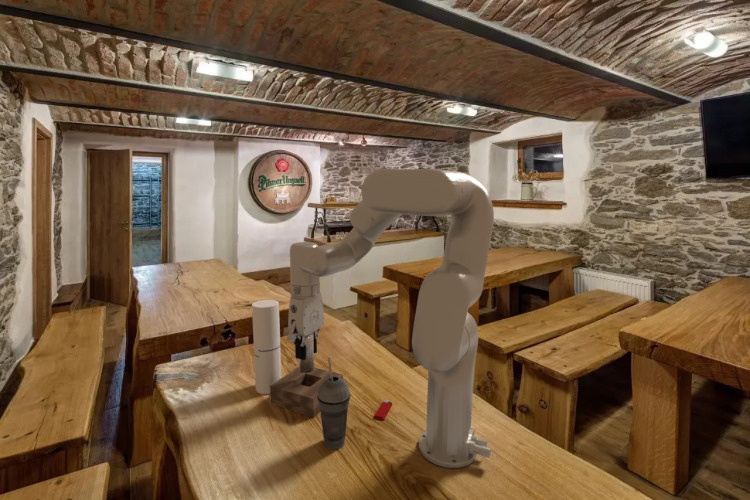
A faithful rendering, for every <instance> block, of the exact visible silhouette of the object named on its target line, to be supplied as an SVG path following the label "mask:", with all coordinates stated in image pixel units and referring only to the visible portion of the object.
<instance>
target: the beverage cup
mask: <svg viewBox="0 0 750 500" xmlns="http://www.w3.org/2000/svg"><path fill="white" fill-rule="evenodd" d="M327 361H328V371H329V372H330V377H329V378H327V379H325V380H324V381H323V382H322V384H321V385H320V388H319V390H318V395H317V398H318V401H319V406H320V410H321V412H320V417H321V427H322V436H323V442H324V443H323V444H324V446H325V448H327V449H328V450H334V451H335V450H339V449H341V448H343V447H344V445H345V443H346V442H345V440H346V435H347V433H346V432H347V423H348V422H347V421H348V420H347V419H348V413H349V412H348V409H349V403H350V398H351V391H350V387H349V385H348V383H347V382H346V381H345V379H344V378H343V379H342V378H340V377H336V376H332V372H333V371H332V368H333V367H332V361H331V357H327Z"/></svg>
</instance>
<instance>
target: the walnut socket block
mask: <svg viewBox="0 0 750 500" xmlns="http://www.w3.org/2000/svg"><path fill="white" fill-rule="evenodd" d="M332 376H336V377H340V378H342V379H343V380H344V374H341V373H337V372H334V371H332ZM329 377H330V372H329V370H326V369H323V368H318V367H315V366H314V370H313V371H312V372H310V373H301V372H300V371H299V366H298V367H296V368H295V369H293V370H291V371H290V372H289V373H287V374H286V375H284V376H281V379H279V380H278V381H276V382H275V383H273V384H272V385H270V394H269V396H270V398H269V399H270V404H271V405H275V406H278V407H280V408H284V409H287V410H290V411H293V412H296V413H300V414H302V415H306V416H308V417H312V418H315V417H316V416H318V415H319V413H321V410H320V406H319V401H318V398H317V395H318V390H319V388H320V385H321V384H322V382H323V381H324V380H325V379H327V378H329Z"/></svg>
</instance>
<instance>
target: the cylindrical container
mask: <svg viewBox="0 0 750 500" xmlns="http://www.w3.org/2000/svg"><path fill="white" fill-rule="evenodd" d="M251 311H252V312H251V313H252V332H253V333H252V334H253V335H252V336H253V337H252V339H253V353H254V354H253V357H254V358H253V359H254V376H255V377H254V378H255V392H257V393H258V394H260V395H270V385H272V384H273V383H275V382H276V381H278V380H279V379H281V378H282V357H281V333H280V332H281V329H280V327H281V326H280V303H279V301H278V300H274V299H262V300H257V301H254V302H252V303H251Z"/></svg>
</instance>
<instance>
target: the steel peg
mask: <svg viewBox="0 0 750 500" xmlns="http://www.w3.org/2000/svg"><path fill="white" fill-rule="evenodd" d="M298 338H299V339H300V340H301V336H298ZM305 345H306V360H301V359H298V367H299V371H300V372H301V373H310V372H312V371H313V370H314V367H315V358H314V357H315V353H314V335H313V333H311V334H309V335H307V336H305Z"/></svg>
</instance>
